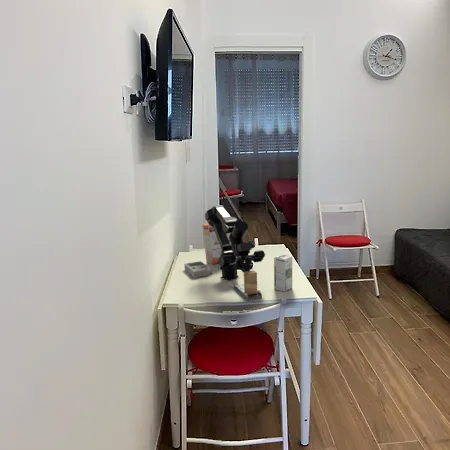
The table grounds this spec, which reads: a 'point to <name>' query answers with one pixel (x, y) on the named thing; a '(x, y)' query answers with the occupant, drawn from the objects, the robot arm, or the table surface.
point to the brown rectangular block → (250, 282)
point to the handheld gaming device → (197, 269)
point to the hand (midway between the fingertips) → (248, 276)
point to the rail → (248, 297)
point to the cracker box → (211, 244)
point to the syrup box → (283, 272)
